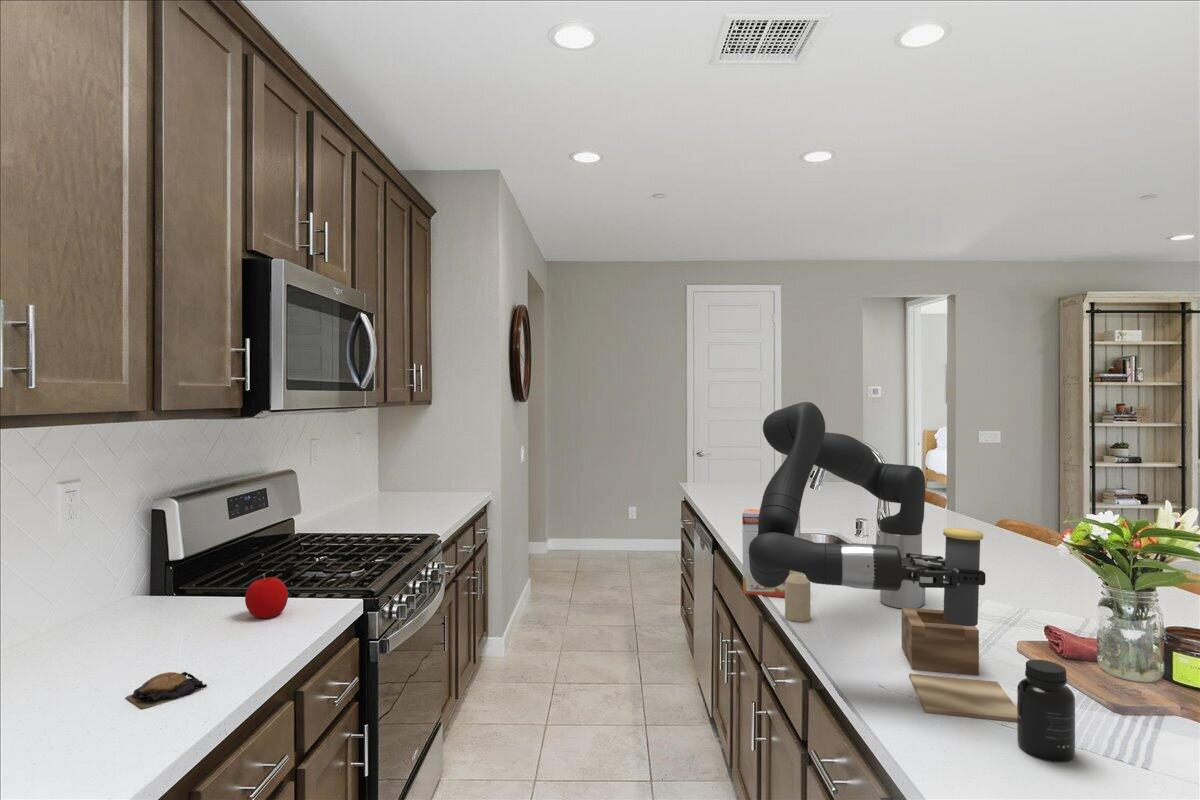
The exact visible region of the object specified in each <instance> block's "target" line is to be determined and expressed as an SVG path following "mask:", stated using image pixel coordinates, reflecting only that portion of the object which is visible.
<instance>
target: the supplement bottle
mask: <svg viewBox="0 0 1200 800" xmlns="http://www.w3.org/2000/svg"><path fill="white" fill-rule="evenodd" d="M1024 677H1026V678H1022V679H1021V680H1020V681H1019V682H1018V684H1017V688H1016V689H1017V690H1016V692H1017V693H1016V694H1017V697H1016V698H1017V699H1016V701H1017V703H1016V707H1017V722H1016V723H1017V724H1016V725H1017V727H1016V729H1017V733H1016V734H1017V736H1016V737H1017V743H1018V745H1019V747H1020V748H1021V749H1022V750H1023V751H1025V753H1028V754H1029V755H1031V756H1033V757H1035V758H1038V759H1039V760H1040V759H1041V760H1045V761H1048V762H1056V763H1061V762H1062V763H1063V762H1068V761H1071V760H1072V759H1074V757H1075V755H1076V754H1075V753H1076V696H1075V694H1074V692H1073V690H1071V689H1070V688H1069V686H1068V685H1067V683H1068V678H1067V669H1066V667H1065V666H1063V665H1061V664H1059V663H1057V662H1054V661H1049V660H1044V659H1030V660H1027V661H1026V662H1025V671H1024Z"/></svg>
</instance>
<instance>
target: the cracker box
mask: <svg viewBox="0 0 1200 800" xmlns="http://www.w3.org/2000/svg"><path fill="white" fill-rule="evenodd" d="M759 512H760V509H748V508H746V509H745V510H744V511H743V512H741V513H742V520H741V521H742V592H743V594H744V595H753V596H763V597H764V596H765V597H779V598H785V582H784V583H782V584H781V585H779V586H777V587H774V588H767V587H764V586H761V585H760V584H758V583H757V582H756V581H755V580H754V578H753V577H752V575H751V572H750V565H749V545H750V543H751V541H752V540H753V539H754V538H755V537H756V536H757V535H758V518H759ZM794 536H795V537H799V538H801V511H800V512H799V518H798V523H797V527H796V530H795V534H794ZM792 573H798V572H796V571H791V570H790V572H789V575H790V574H792ZM799 573H800V572H799ZM789 575H788V576H789Z"/></svg>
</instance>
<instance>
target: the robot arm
mask: <svg viewBox="0 0 1200 800" xmlns="http://www.w3.org/2000/svg"><path fill="white" fill-rule="evenodd" d="M762 432H763V436H764V438H765V439H766V442H767V443H768V445H769V446H771V447H772V448H773V449H774V451H777V452H778V453H780V454H783V455H786V458H785V460H784V461H783V462H782V464H781V465H780V466H779V467H778V468H777V470H776V471H775V473H774V474H773V475H772V477H771V478H770V480H769V482H768V483H767V486H765V490H764V491H763V495H762V498H761V499H762V500H761V504H760V509H759V510H760V512H759V518H758V535H757V536H756V537H755V538H754V539H753V540H752V541H751V543H750V545H749V565H750V572H751V575H752V577H753V578H754V580H755V581H756V582H757V583H758V584H760V585H761V586H764V587H767V588H774V587H777V586H779V585H781V584H782V583H784V582H785V580H786V579H787V577H788V575H789V572H790V570H791V571H796V572H800V573H801V574H803V575H804V576H806V578H807V579H808V580H809V581H810V583H811V584H817V585H824V586H825V585H827V586H838V587H839V586H841V587H842V586H843V587H848V588H853V589H861V590H872V591H874V590H875V591H876V590H877V591H879V593H880V594H879V599H880V600H879V601H880V602H881V604H883V605H886V606H888V607H891V608H898V609H902V607H906V608H921V607H922V606H923V605H926V588H929V589H933V588H934V589H935V588H936V589H937V588H938V589H939V588H940V589H944V588H958V585H959V583H960V584H970V585H979V586H985V585H986V582H987V581H986V572H984V571H983V570H980V569H979V570H965V569H957V568H948V567H945V558H944V557H943V556H941V555H938V556H936V555H930V554H928V555H927V554H923V525H924V520H925V504H926V500H925V499H926V478H925V474H924V472H923V470H922V468H920V467H918V466H915V465H908V464H896V463H884V462H880V461H878V460H876V457H875V453H874V451H873V450H872V449H871V448H870V447H869V446H868V445H867V444H865V443H864V442H862V441H860V440H858V439H856V438H855V437H853V436H850V435H847V434H843V433H835V432H826V421H825V417H824V415H823V413H822V411H821V410H820V408H819V407H818V406H817V405H816V404H814V402H809V401H803V402H798V403H794V404H792V405H790V406H785V407H784V408H783V407H782V408H780V409H777V410H775V411H773V412H771V413H770V414H769V415H767V416H766V417H765V419H764V420H763V423H762ZM814 466H816V467H818V468H820V469H822V470H824V471H827V472H828V473H830V474H832V475H834V476H837V478H840V479H843V480H844V481H847V482H849V483H852V484H854V485H857V486H859V487H862V488H863V489H864V490H865V491H868V492H869V493H870V494H872V496H874V497H875V498H876V499H879V500H881V501H884V502H887V503H895V504H900V507H899V511H898V512H897V513H896V514H893V515H889V516H884V517H882V518H881V519H880V521H879V544H875V543H874V544H872V543H859V542H858V543H855V542H854V543H829V542H814V541H811V540H808V539H806V538H805V539H804V538H802V537H800V538H799V537H795V536H794V534H795V530H796V527H797V523H798V518H799V512H800V513H801V511H800V510H801V507H802V506H801V505H802V501H803V495H804V493H805V489H806V486H807V484H808V480H809V478H810V475H811V472H812V471H813V468H814ZM945 576H949V580H948V579H945Z"/></svg>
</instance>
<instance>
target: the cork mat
mask: <svg viewBox="0 0 1200 800" xmlns="http://www.w3.org/2000/svg"><path fill="white" fill-rule="evenodd" d="M908 678H909V680H910V682H911V685H912V687H913V688H914V691H915V693H916V696H917V697H918V700H919V702H920V704H921V706H922V709H923V710H924V713H926V714H927V713H928V714H938V715H947V716H957V717H965V718H974V719H975V718H977V719H986V720H995V721H1004V722H1005V721H1006V722H1014V723H1017V705H1015V703H1014V702H1013V701H1012V699H1011V698H1010V697H1009V696H1008V695H1009V694H1007V693H1006V691H1005V690H1004V689H1003V687H1002V686H1001V685H1000V683H999V682H998V681H994V680H985V679H973V678H964V677H963V678H962V677H952V676H951V677H950V676H941V675H940V676H939V675H931V674H929V675H928V674H921V673H920V674H919V673H908Z"/></svg>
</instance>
